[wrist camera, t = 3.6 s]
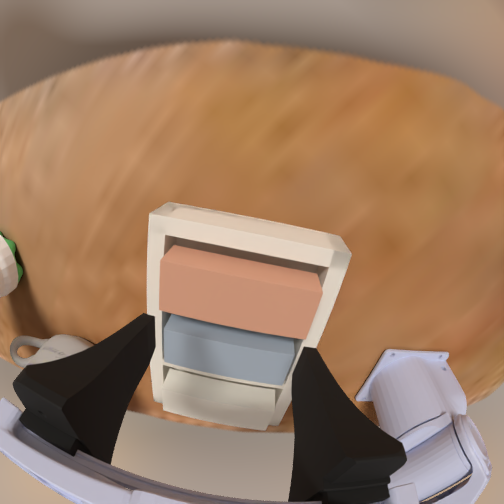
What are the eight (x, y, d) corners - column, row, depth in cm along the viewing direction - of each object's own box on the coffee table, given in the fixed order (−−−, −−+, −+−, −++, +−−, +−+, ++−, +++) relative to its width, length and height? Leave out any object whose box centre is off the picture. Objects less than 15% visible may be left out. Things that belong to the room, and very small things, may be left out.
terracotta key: (317, 273, 18) (323, 292, 16) (302, 317, 19) (305, 339, 17) (173, 244, 18) (160, 260, 15) (170, 290, 19) (159, 310, 17)
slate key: (293, 333, 21) (294, 355, 19) (281, 364, 22) (282, 385, 20) (173, 309, 21) (163, 328, 19) (172, 342, 22) (164, 361, 20)
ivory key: (275, 389, 22) (274, 411, 20) (266, 410, 24) (265, 430, 21) (169, 368, 22) (161, 388, 20) (170, 391, 24) (163, 410, 21)
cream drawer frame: (339, 235, 20) (351, 254, 17) (278, 401, 27) (277, 426, 24) (168, 201, 20) (149, 213, 17) (163, 378, 27) (154, 401, 24)
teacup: (141, 370, 27) (115, 423, 20) (107, 395, 31) (84, 437, 23) (51, 286, 24) (6, 325, 17) (33, 328, 27) (1, 363, 20)
